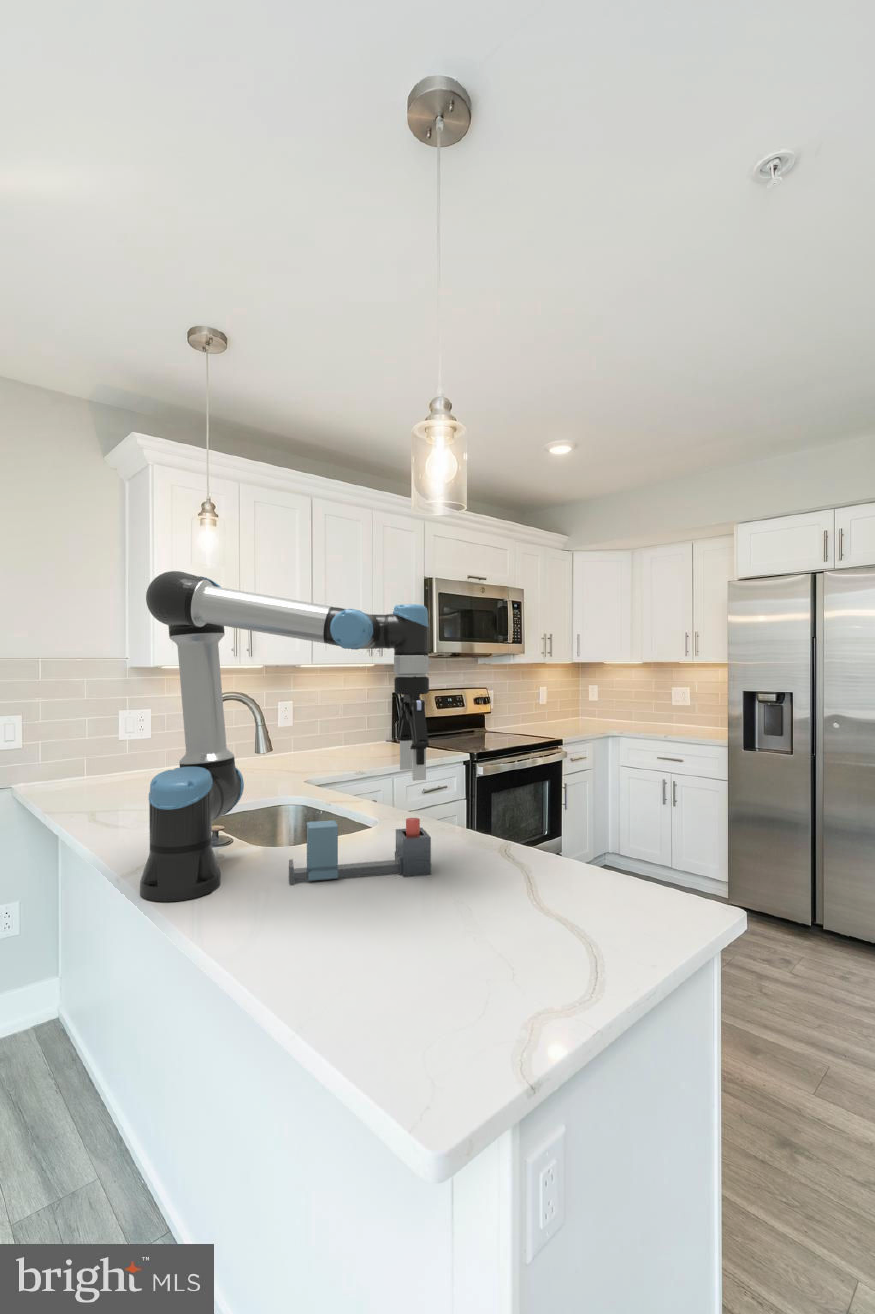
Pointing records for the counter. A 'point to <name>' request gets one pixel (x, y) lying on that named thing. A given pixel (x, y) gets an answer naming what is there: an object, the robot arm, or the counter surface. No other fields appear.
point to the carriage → (322, 850)
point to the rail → (351, 870)
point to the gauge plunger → (412, 827)
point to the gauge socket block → (414, 853)
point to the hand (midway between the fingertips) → (412, 774)
